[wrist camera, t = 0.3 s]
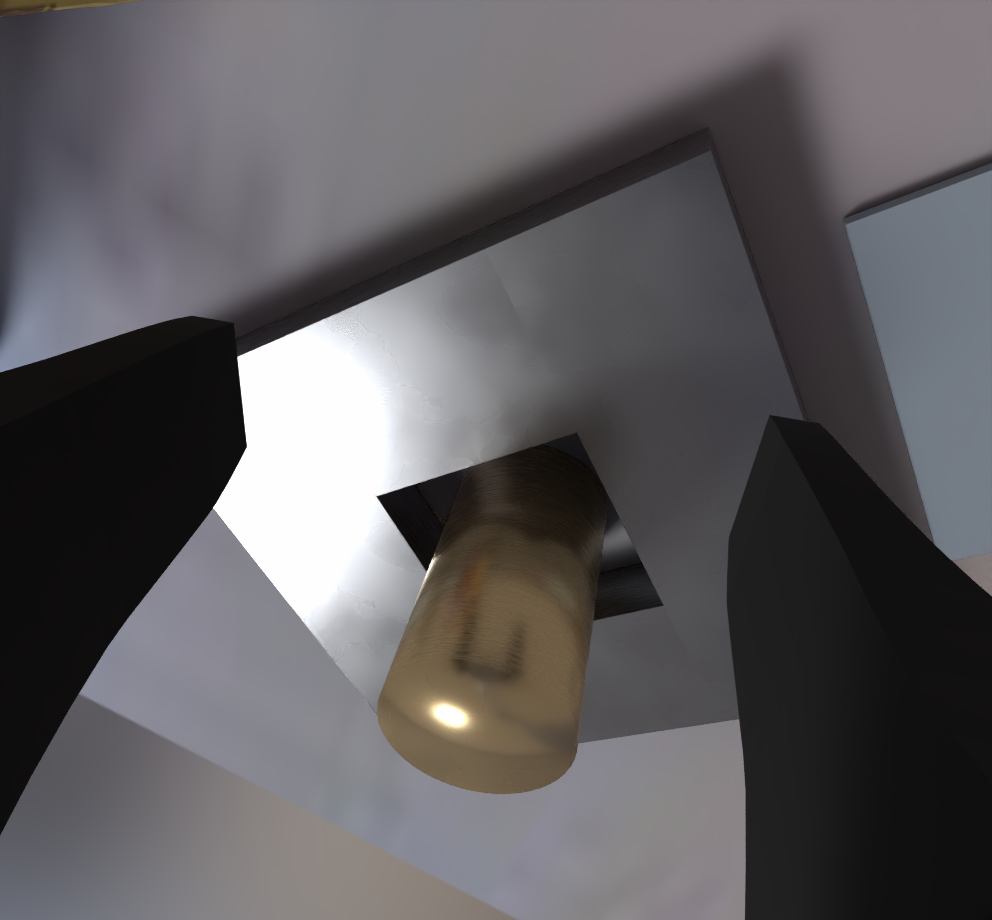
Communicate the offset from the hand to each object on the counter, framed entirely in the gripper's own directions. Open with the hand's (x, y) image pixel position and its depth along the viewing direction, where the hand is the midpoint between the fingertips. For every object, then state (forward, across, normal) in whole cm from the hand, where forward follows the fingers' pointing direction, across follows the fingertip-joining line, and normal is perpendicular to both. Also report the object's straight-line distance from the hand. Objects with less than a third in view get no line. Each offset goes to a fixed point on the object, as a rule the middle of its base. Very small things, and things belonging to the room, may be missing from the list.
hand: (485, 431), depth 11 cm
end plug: (+10, 0, +9) cm, 13 cm away
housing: (+10, 0, +9) cm, 13 cm away
